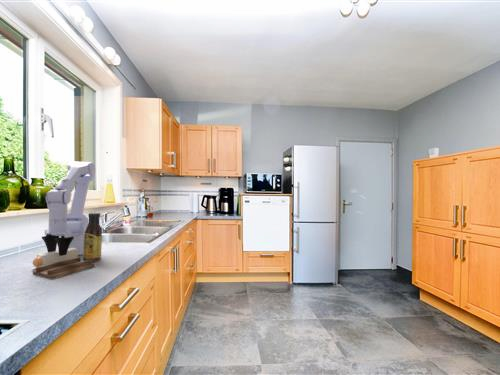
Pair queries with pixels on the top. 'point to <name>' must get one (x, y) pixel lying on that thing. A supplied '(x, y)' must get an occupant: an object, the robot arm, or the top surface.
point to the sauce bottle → (93, 238)
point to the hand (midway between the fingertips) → (57, 254)
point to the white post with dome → (54, 257)
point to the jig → (63, 268)
